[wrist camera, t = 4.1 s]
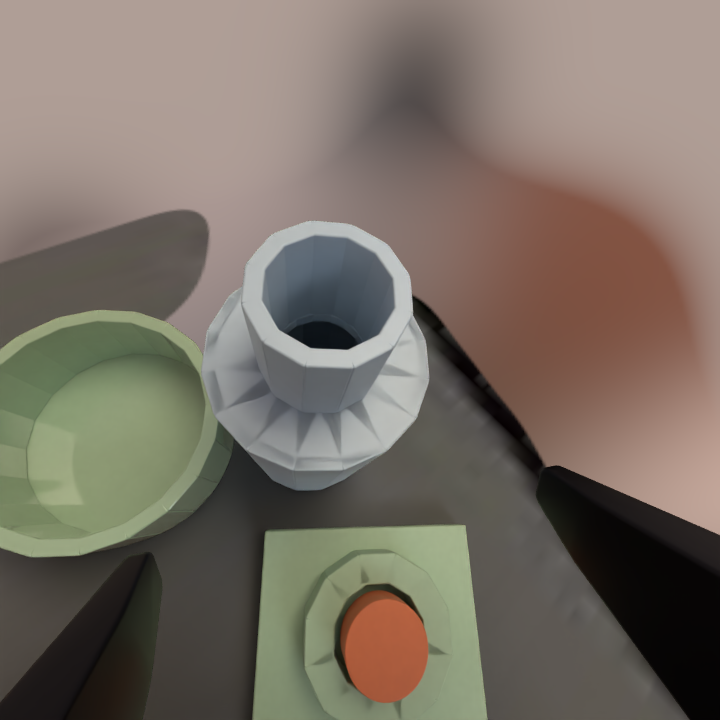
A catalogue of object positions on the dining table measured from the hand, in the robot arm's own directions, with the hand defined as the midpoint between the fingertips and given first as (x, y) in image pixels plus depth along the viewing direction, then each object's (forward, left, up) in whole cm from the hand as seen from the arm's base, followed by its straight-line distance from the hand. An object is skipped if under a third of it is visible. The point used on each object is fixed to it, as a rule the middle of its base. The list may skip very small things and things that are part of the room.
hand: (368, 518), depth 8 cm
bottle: (+4, +1, -12) cm, 13 cm away
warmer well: (+4, +10, -12) cm, 16 cm away
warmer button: (-5, -2, -9) cm, 11 cm away
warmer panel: (-5, -2, -12) cm, 13 cm away
